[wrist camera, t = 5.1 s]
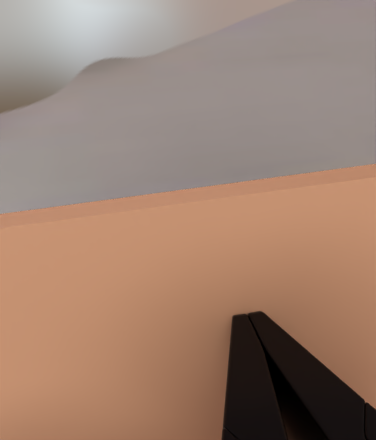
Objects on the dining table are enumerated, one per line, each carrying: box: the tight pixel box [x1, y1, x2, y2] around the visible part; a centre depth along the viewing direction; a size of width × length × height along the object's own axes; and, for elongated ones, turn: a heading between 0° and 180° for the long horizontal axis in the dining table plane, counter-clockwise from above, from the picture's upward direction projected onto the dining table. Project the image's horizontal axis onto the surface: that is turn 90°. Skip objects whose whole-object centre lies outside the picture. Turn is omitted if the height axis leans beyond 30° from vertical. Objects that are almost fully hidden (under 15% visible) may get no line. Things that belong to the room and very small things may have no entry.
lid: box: [0, 164, 376, 440], centre depth 11 cm, size 11×20×1 cm
